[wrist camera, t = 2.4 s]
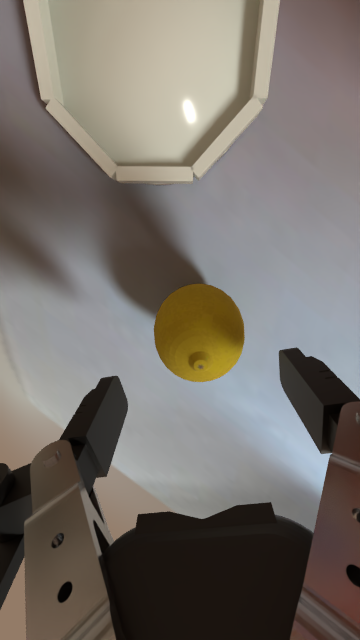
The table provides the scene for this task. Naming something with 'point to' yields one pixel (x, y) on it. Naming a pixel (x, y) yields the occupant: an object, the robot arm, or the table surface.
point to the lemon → (199, 332)
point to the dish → (153, 79)
